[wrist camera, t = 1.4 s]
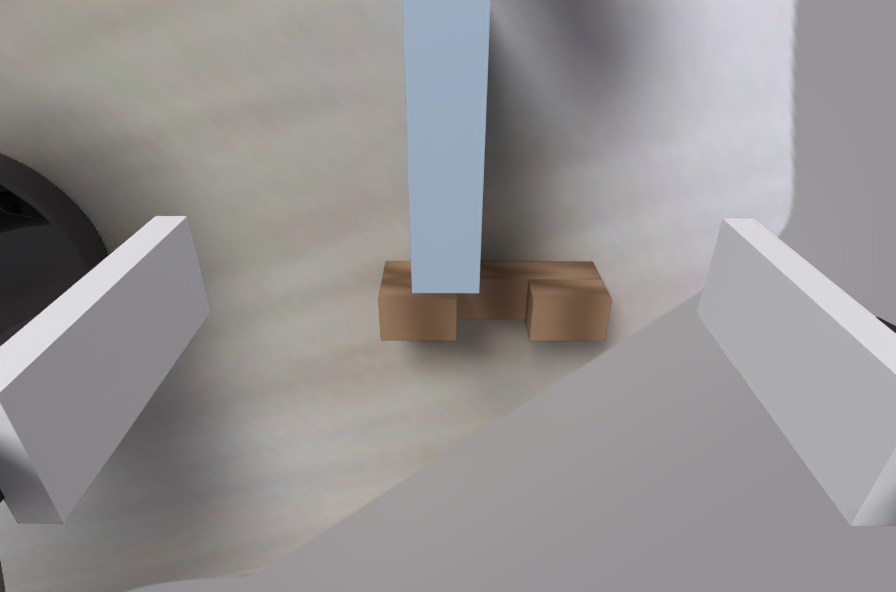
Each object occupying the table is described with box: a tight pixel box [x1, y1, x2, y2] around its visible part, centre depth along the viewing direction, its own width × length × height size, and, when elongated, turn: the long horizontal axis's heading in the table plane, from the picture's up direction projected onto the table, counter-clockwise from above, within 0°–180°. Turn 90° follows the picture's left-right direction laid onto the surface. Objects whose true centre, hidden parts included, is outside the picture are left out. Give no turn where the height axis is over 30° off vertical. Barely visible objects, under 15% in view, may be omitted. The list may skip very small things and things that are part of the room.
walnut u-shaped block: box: [378, 261, 612, 341], centre depth 36 cm, size 14×3×5 cm, turn 90°
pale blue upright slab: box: [403, 0, 491, 293], centre depth 27 cm, size 3×12×12 cm, turn 0°
